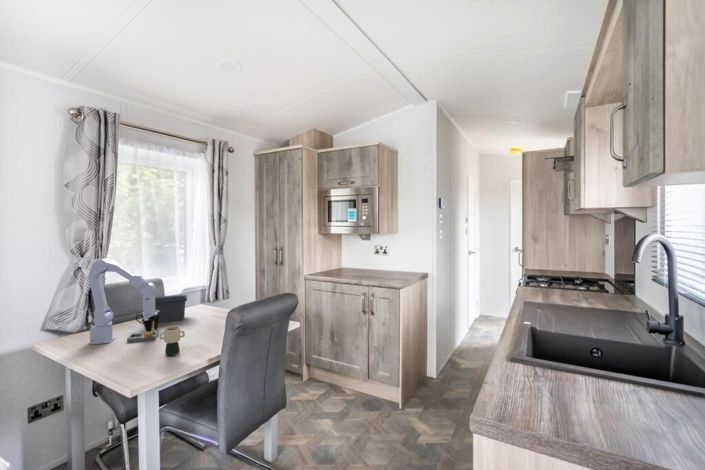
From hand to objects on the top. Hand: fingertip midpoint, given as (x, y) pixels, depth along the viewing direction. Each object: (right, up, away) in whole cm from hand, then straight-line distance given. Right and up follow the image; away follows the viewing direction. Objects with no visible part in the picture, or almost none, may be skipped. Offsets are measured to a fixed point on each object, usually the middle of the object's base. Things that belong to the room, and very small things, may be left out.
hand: (149, 330), depth 193 cm
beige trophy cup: (+24, -6, -23) cm, 34 cm away
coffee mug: (-10, -4, +17) cm, 20 cm away
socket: (-3, -4, -1) cm, 5 cm away
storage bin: (-7, -3, +36) cm, 36 cm away
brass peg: (0, -4, 0) cm, 4 cm away
